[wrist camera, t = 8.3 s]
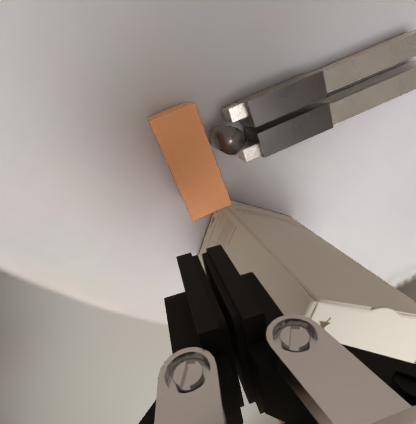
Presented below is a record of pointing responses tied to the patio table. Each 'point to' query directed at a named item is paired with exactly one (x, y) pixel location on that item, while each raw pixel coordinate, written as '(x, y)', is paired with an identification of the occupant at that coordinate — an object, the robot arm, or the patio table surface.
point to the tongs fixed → (308, 89)
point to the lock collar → (190, 159)
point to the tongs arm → (327, 112)
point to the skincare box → (315, 280)
